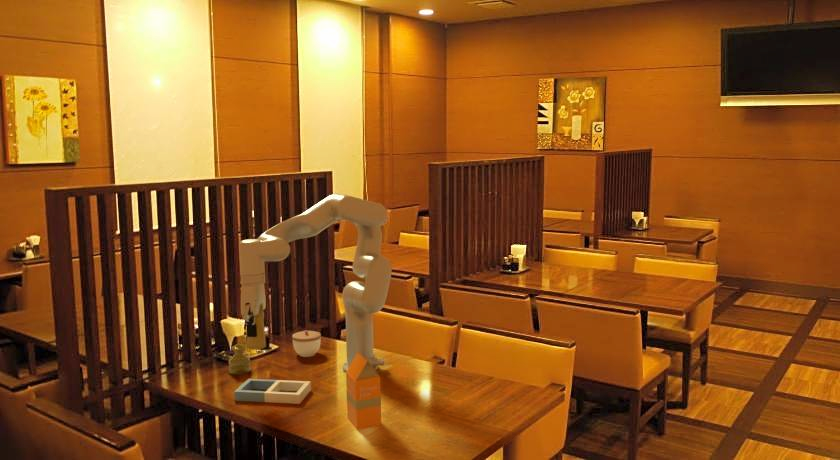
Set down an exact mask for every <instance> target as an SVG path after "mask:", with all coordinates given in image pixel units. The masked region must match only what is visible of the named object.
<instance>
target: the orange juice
mask: <svg viewBox="0 0 840 460" xmlns="http://www.w3.org/2000/svg"><path fill="white" fill-rule="evenodd" d="M345 378H346V379H345V381H346V385H345V386H346V408H347V410H346V412H347V413H346V414H347V416H346V417H347V420H348V421H349V422H350V423H351V424H352V426H353V427H354V428H355V429H356V430H362V429H363V430H364V429H367V428H372V427H378V426H382V394H381V393H382V392H381V389H382V387H381V376H380V375H379V373H378V372H377V370H374V368H373V367H372V366H371V365H370V363H369V362H368V361H367V360H366V359H365V358H364V357H363V356H362V355H361V354H360V353H357V355H356V356H355V358H354V360H353V361H352V363H351V365H350V367H349V368H348V370H347V371H346V372H345Z"/></svg>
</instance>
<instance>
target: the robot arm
mask: <svg viewBox="0 0 840 460" xmlns="http://www.w3.org/2000/svg"><path fill="white" fill-rule="evenodd" d="M387 211H388V210H387V209H386V207H385V206H384V205H383V204H382V203H379V202H375V201H372V200H371V201H370V200H367V199H362V198H358V197H355V196H352V195H347V194H340V193H333V194H329V195H328V196H327V197H325V198H324V199H322V200H320V201H318V203H316V204H314V205H313V206H311V207H310V208H308V209H306V210H305V211H303V212H302V213H301V214H297V215H295V216H293V217H291V218H288V219H286V220H284V221H282V222H280V223H278V224H275V225H274V226H272V227H271V228H268V229H267V230H266V231H264V232H263V233H261V234H260V235H259V236H258V237H257V238H249V239H243V240H241V241H240V242H239V244H238V251H239V252H238V253H239V255H238V256H239V269H240V270H239V271H240V273H239V274H240V284H241V287H240V314H241V316H242V317H243V320H244V321H245V326H246V327H245V328H246V338H247V337H256V336H257V325H256V324H255V320H256V315H257V314H259V310H260V304H262V303H263V319H264V320H265V309H266V307H267V306H266V305H267V301H266V299H267V298H266V288H265V287H266V286H265V283H266V270H265V262H280V261H284V260H285V259H286V258H288V257H289V256H290V253H291V246H290V243H291V242H293V241H296V240H300V239H308V238H311V237H315V236H317V235H319V234H320V233H321V232H322V231H324V230H325V229H327V228H329V227H330V226H332V225H333V224H335V223H336V222H337V221H344V222H349V223H353V224H354V225H355V228H356V230H357V235H358V236H357V244H356V248H355V252H354V256H353V261H352V272H353V273H354V275H355V276H357V277H358V278H361V279H364V281H365V282H363V281H358V280H354V281H350V282H349V283H347V284H346V285H345V287H343V291H342V294H341V296H342V297H341V299H342V303H343V308H344V313H345V315H344V316H345V338H346V339H345V342H346V344H345V345H346V347H345V348H346V362H345V363H343V364H342V370H343V371H344V372H345V373H346V371H347V370H348V368H349V367H350V365H351V363H352V361H353V360H354V358H355V356H356V355H357V353H360V354H361V355H362V356H363V357H364V358H365V359H366V360H367V361H368V362H369V363H370V365H371V366H372V367H373V368H374V370H375V371H377V370H378V369H379V366H386V360H384V358H382V357H381V358H378V357H376V356H377V355H376V353H374V324H373V323H374V319H373V315H374V314H377V313H379V312H380V311H382V309H383V307H384V306H385V303H386V299H387V297H388V292H389V288H390V282H391V278H392V272H393V270H392V264H391V261H390V260H389V259H388V257H386V256H384V255H383V254H381V249H382V243H383V232H382V228H381V227H382V226H384V224H385V223H386V222H387V219H388V212H387ZM250 313H253V314H252V315H249V314H250ZM250 317H253V320H252V319H251V318H250ZM264 330H265V328H264Z"/></svg>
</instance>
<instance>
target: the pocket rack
mask: <svg viewBox="0 0 840 460" xmlns="http://www.w3.org/2000/svg"><path fill="white" fill-rule="evenodd" d="M311 391H312V384H311V381H310V380H309V381H307V380H285V379H264V378H261V379H260V378H247V379H246V380H245V381H244V382H243V383H242V384H240V385H239V387H237V388H236V389H235V390H234V391H233V395H234V401H238V402H251V403H252V402H253V403H257V402H258V403H274V404H275V403H276V404H294V405H296V404H297V405H300V404H301V403H302V402H303V400H304V399H305V398H306V397H307V396H308V394H309V393H310V392H311Z"/></svg>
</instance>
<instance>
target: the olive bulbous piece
mask: <svg viewBox="0 0 840 460" xmlns="http://www.w3.org/2000/svg"><path fill="white" fill-rule="evenodd" d="M246 349H247V345H244V344H241V343H236V344H234V345H232V346H231V349H230V350H231V351H233V352H234V354H233V356H232V357H231V358H229V360H228V365H229V366H228V371H229V373H230V374H232V375H236V376H237V375H239V376H240V375H245V374H247V373H249V372H250V371H251V364H250V362H251V359H250V357H249V356H247V355H246V354H245V353H243V352H244V351H245V350H246Z"/></svg>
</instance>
